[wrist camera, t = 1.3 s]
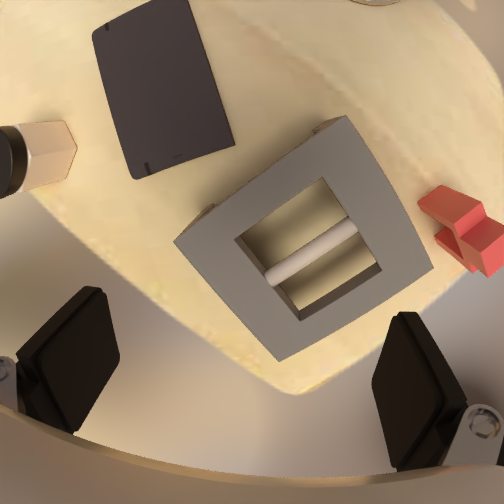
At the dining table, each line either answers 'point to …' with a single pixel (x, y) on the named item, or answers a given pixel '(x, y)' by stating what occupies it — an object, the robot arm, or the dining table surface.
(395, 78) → the dining table surface
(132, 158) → the notebook
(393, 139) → the dining table surface
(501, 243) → the red stepped block
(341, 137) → the grey frame with crossbar
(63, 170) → the jar
